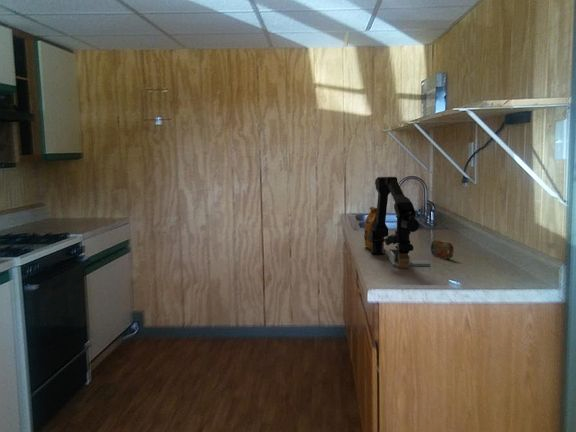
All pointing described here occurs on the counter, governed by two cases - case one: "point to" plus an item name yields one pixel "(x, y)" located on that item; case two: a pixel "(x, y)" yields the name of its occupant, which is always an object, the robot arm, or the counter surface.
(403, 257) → the block
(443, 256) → the tin
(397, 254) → the grey open rectangular frame
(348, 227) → the counter surface
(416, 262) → the tile
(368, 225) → the coffee package
